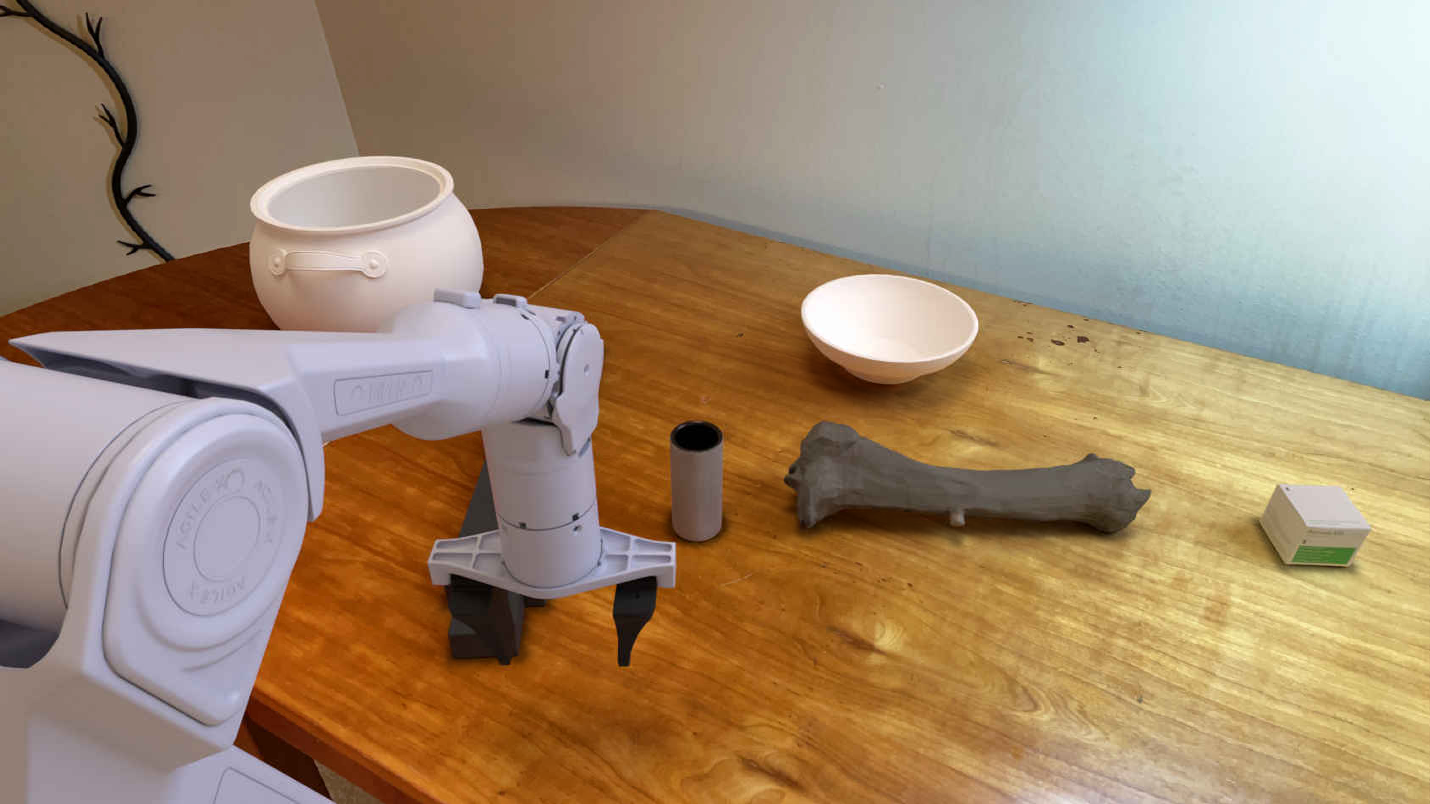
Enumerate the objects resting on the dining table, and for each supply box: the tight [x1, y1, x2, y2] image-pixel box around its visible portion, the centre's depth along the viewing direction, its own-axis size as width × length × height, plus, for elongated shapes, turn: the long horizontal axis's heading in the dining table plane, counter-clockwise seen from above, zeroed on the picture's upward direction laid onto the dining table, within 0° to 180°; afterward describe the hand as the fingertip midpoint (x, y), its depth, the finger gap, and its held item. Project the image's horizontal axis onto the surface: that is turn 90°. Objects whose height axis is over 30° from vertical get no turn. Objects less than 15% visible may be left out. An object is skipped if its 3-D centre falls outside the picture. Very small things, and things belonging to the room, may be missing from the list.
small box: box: [1258, 483, 1372, 568], centre depth 80 cm, size 6×6×5 cm
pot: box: [249, 155, 485, 333], centre depth 110 cm, size 29×26×16 cm
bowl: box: [800, 273, 979, 385], centre depth 103 cm, size 20×20×7 cm
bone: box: [783, 420, 1152, 534], centre depth 82 cm, size 32×10×9 cm, turn 87°
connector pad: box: [447, 590, 526, 659], centre depth 73 cm, size 8×5×3 cm, turn 4°
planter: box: [669, 419, 724, 542], centre depth 80 cm, size 4×4×10 cm
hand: (566, 653), depth 59 cm, fingers open, 7 cm apart
